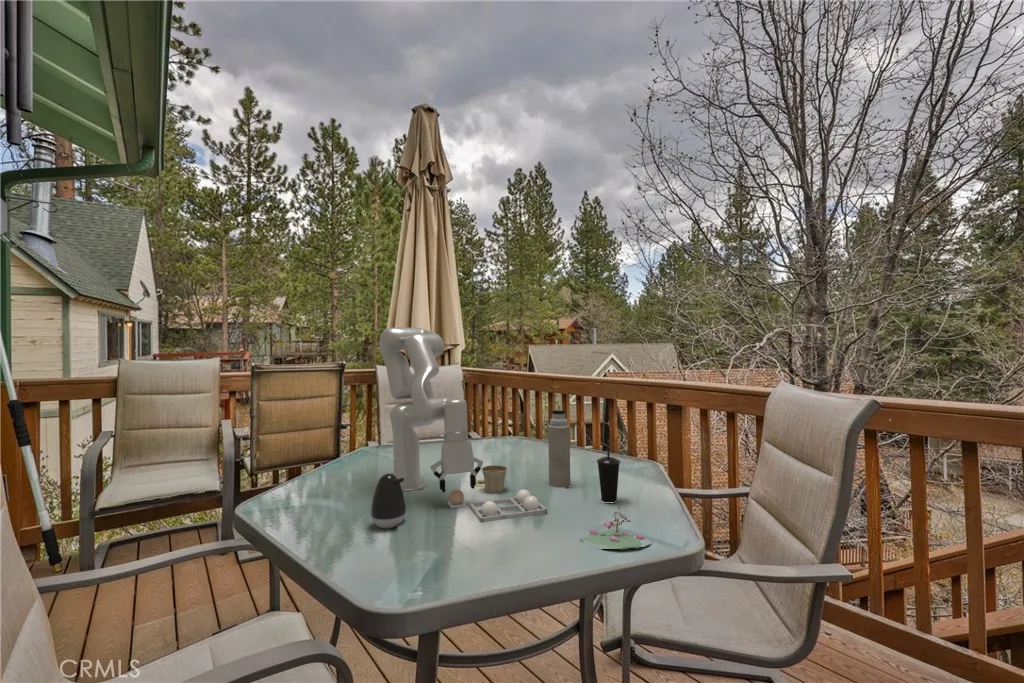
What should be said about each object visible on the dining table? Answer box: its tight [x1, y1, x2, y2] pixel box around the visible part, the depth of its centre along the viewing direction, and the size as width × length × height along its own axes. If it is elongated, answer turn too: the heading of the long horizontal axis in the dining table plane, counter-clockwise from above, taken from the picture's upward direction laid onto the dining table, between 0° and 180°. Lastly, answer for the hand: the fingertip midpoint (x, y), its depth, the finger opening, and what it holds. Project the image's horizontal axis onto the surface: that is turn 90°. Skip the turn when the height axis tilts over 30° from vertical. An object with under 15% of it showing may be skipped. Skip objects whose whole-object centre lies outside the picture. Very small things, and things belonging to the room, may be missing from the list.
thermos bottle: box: [547, 409, 571, 489], centre depth 176 cm, size 8×8×28 cm
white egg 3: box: [524, 495, 540, 511], centre depth 147 cm, size 5×5×5 cm
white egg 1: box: [481, 500, 498, 517], centre depth 143 cm, size 5×5×5 cm
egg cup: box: [447, 500, 467, 509], centre depth 154 cm, size 6×6×1 cm
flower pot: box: [480, 464, 508, 494], centre depth 169 cm, size 9×9×9 cm
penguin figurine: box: [370, 473, 407, 529], centre depth 139 cm, size 10×10×15 cm
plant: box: [582, 506, 645, 550], centre depth 132 cm, size 25×21×9 cm
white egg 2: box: [515, 488, 532, 504], centre depth 154 cm, size 5×5×5 cm
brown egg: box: [448, 488, 465, 505], centre depth 154 cm, size 5×5×5 cm
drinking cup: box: [596, 441, 621, 502], centre depth 157 cm, size 8×8×20 cm
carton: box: [468, 496, 548, 523], centre depth 148 cm, size 21×14×2 cm
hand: (458, 489), depth 153 cm, fingers open, 9 cm apart
